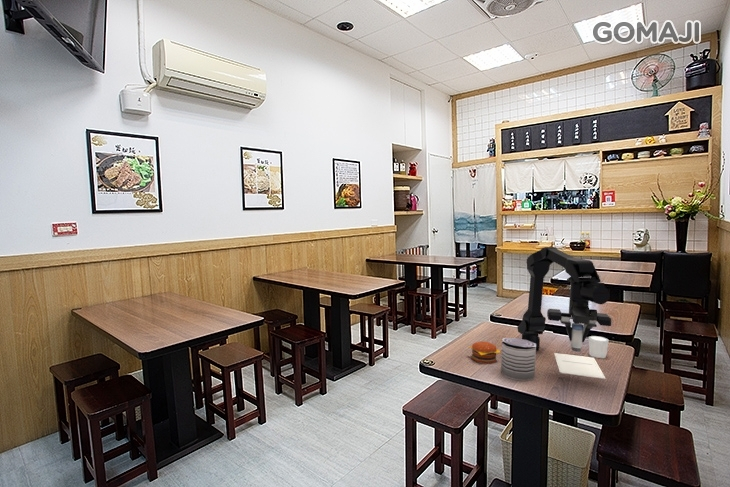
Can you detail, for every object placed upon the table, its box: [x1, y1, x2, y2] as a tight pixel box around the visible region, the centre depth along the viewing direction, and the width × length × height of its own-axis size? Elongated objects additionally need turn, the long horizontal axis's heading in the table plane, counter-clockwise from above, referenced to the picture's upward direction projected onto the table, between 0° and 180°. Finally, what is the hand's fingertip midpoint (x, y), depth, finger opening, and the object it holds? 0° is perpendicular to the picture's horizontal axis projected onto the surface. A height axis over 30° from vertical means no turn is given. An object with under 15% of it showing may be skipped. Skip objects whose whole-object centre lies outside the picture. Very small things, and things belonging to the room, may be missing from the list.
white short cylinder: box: [588, 335, 610, 359], centre depth 153 cm, size 7×7×7 cm
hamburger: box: [468, 340, 502, 365], centre depth 150 cm, size 9×10×7 cm
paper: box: [553, 352, 607, 380], centre depth 144 cm, size 14×20×1 cm
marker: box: [570, 322, 584, 352], centre depth 133 cm, size 3×3×9 cm
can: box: [500, 337, 537, 382], centre depth 136 cm, size 11×11×12 cm
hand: (576, 341), depth 133 cm, fingers closed on marker, 3 cm apart
